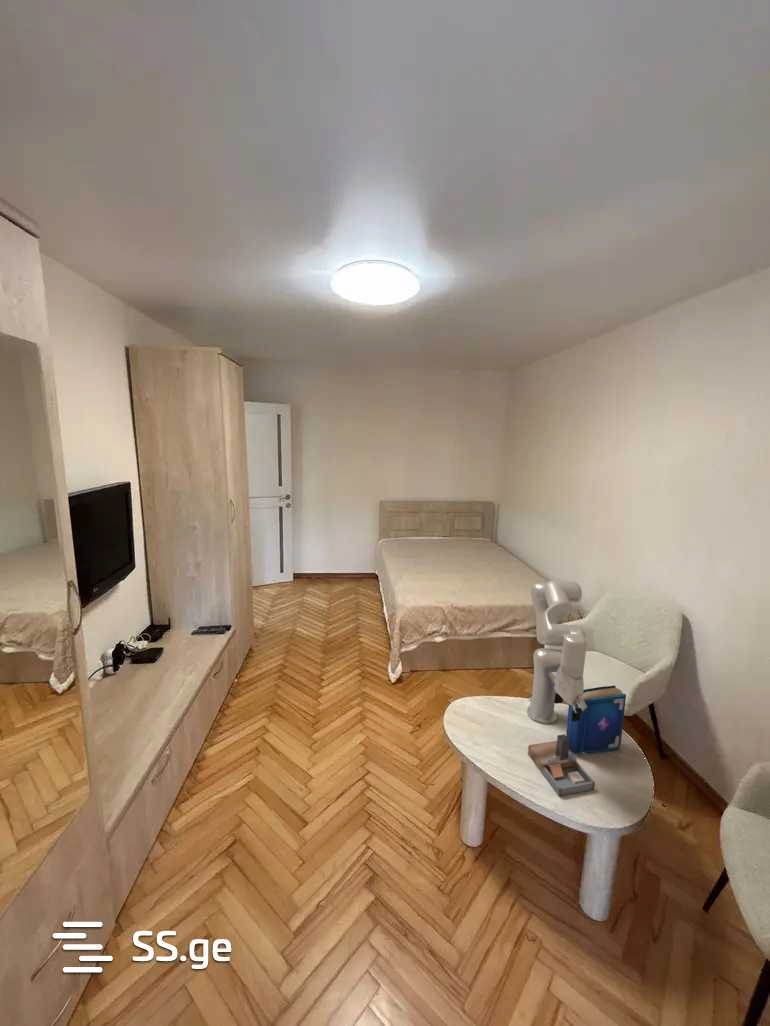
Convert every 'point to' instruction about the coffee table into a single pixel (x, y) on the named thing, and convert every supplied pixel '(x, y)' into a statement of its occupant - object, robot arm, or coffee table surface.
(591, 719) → the book
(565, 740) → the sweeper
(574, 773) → the tile cream
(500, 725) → the coffee table surface
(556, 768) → the tile terracotta
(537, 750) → the brown tray
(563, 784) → the box
